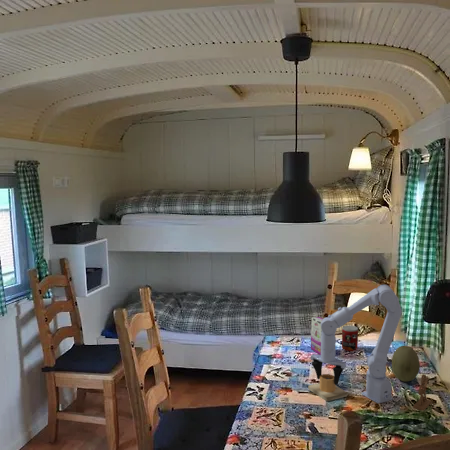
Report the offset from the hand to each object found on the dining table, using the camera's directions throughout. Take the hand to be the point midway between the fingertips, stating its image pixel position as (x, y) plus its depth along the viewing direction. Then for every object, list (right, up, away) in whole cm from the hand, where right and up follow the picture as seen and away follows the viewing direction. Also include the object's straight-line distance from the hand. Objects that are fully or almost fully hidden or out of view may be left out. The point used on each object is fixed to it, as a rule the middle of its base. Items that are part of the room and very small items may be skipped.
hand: (327, 380), depth 192 cm
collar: (0, -3, 0) cm, 3 cm away
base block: (0, -5, 0) cm, 5 cm away
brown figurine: (+34, -6, -10) cm, 36 cm away
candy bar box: (+6, -1, +45) cm, 46 cm away
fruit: (+35, -4, +12) cm, 38 cm away
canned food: (+22, 0, +50) cm, 54 cm away
